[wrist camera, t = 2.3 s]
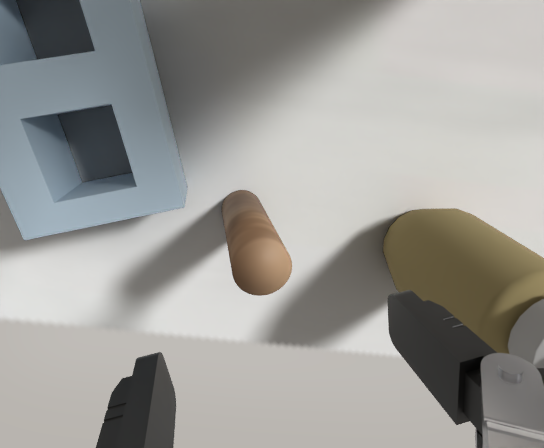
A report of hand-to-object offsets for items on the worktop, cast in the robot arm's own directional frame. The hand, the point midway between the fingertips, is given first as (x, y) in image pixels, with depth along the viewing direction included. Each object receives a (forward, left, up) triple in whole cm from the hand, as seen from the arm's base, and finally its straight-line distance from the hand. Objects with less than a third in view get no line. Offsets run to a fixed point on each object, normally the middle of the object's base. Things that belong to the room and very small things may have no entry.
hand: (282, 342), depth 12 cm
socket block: (+8, -10, -16) cm, 20 cm away
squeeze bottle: (-14, +6, -16) cm, 22 cm away
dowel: (0, 0, -16) cm, 16 cm away
